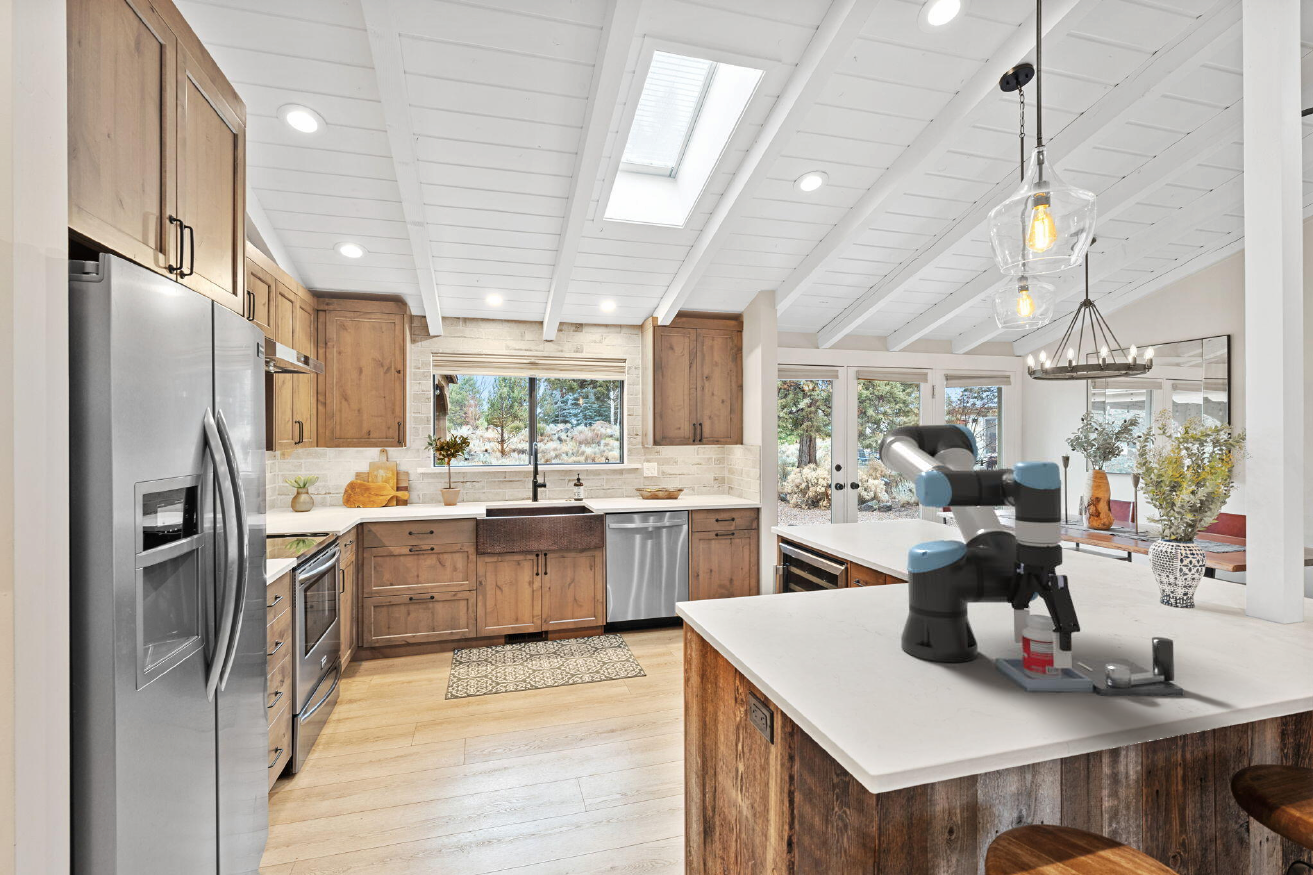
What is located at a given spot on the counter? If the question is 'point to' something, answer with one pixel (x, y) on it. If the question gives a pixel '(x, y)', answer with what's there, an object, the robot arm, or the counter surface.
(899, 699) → the counter surface
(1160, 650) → the crank
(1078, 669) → the dial plate
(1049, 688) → the tray
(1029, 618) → the pill bottle
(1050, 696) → the counter surface
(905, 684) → the counter surface
